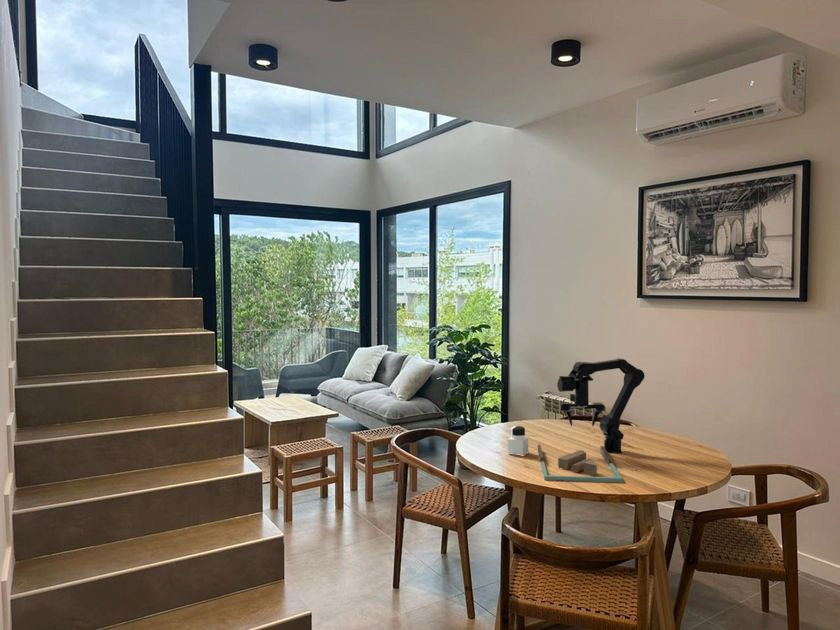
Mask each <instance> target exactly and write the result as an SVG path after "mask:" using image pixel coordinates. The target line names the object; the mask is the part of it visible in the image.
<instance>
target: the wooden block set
mask: <svg viewBox="0 0 840 630" xmlns="http://www.w3.org/2000/svg"><path fill="white" fill-rule="evenodd" d="M557 459H558V460H557V463H558V464H557V468H558V467H559V468H558V469H560V468H562V469H561V470H564V469H566V470H565V471H570V470H571V471H572V472H573V473H575V474H576V473H579V472H582V471H583V474H584V475H587V476H590V477H598V472H597V469H598V466H597V464H596V462H595V461H594V460H593V459H592V458H590V457H588V458H587V453H586V451H584V450H582V449H579V450H577V451H574V452H572V453H571V452H570V453H567V454H564V455H562V456H559V457H558V458H557ZM569 469H570V470H569Z"/></svg>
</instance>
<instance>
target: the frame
mask: <svg viewBox="0 0 840 630" xmlns="http://www.w3.org/2000/svg"><path fill="white" fill-rule="evenodd" d="M540 466H542V467H541V471H542V474H543V475H544V476H543V479H544V481H556V480H564V482H591V483H592V482H594V483H596V482H597V483H598V482H599V483H622V484H623V477H622V475H621V474H620V473H619V471H618V469H617V468H616V467H615V465H614V464H613V462H612V463H609V465H608V467H609V468H610V470H611V472H612V473H613V475H614V477H612V476H597V477H595V476H588V475H587V476H580V475H579V476H578V475H551V474H550V475H548V472H547V468H546V464H545V461H544V462H543V461H541V463H540Z"/></svg>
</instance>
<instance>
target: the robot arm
mask: <svg viewBox="0 0 840 630" xmlns="http://www.w3.org/2000/svg"><path fill="white" fill-rule="evenodd" d="M572 367H573V368H572V369H571V371H570V372H569V374H568V375H559V376H558V377H559V378H558V380H557V383H556V387H557V390H558V392H573V391H574V393H571V394H570V393H569V401H570V402H573V404H571V403H570V402H569V401H560V402H559V409H560V411H563V413H565V414H566V416H567V418H568V421H569V424H570V427H572V426H573V422H572V421H573V419H572V412H571V409H573V410H575V409H577V410H578V409H580V410H581V409H582V410H583V409H585V410H587V409H588V410H592V420H591V427H594V426H595V424H596V421H597V419H598V417H599V414H602V413H603V412H605V411H606V406H605V404H604V403H603V402H593V403H592V404H591V403H590V404H589V402H590V401H589V400H590V399H589V392H590V391H589V384H590V383H589V381H590V382H591V381H592V382H593V381H594V378H593V377H592V376H591V375H592V374H595V373H597V372H603V371H609V370H616V369H619V370H620V371H621V373H623V374H624V377H623V385H622V387H621V389H620V392H619V393H618V396H617V397H616V399H615V402H614V404H613V405H612V407H611V410H610V412H609V413H608V414H607V415H606V414H603V415H602V418H601V419H600V420H599V429H600V431H601V432H602V434H603V436H604V440H603V446H604V448H605V449H606V451H607V452H608V454H610V453H611V454H612V453H614V454H615V453H616V454H617V453H619V454H622V453H623V451H622V440H623V439H624V436H625V435H624V434H623V432H622V431H621V430H620V428H621V417H622V415H623V413H624V411H625V408H626V407H627V406H628V403H629V401H630V398H631V397H632V394H633V393H634V391H635V389H636V388H637V387H638V386H640V385H641V383H642V382H643V381H644V379H645V376H646V375H645V372H644V371H643V370H642V369H640V368H637V367H635V366H634V365H633V364H631V363H629V361H627V360H626V359H624V358H619V357H618V358H615V359H608V360H603V361H595V362H592V361H591V362H588V361H577V362H575V363H574V364H573V366H572ZM638 388H639V387H638Z"/></svg>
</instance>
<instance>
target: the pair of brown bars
mask: <svg viewBox="0 0 840 630" xmlns="http://www.w3.org/2000/svg"><path fill="white" fill-rule="evenodd" d="M599 447H600V452H601V453H600V454H601V456H602V457H604V458H603V459H604V461H605V462H606V464H607V465H608V466H609V463H613V459H612V457H611V455H610V453H608V452H607V451H606V449H605V448H604V445H600V446H599ZM537 453H539V454H538V458H539V457H540V459H539V463H540V462H541V461H543V462H544V463H545V457H544V454H543V448H542V445H541V444H537Z"/></svg>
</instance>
